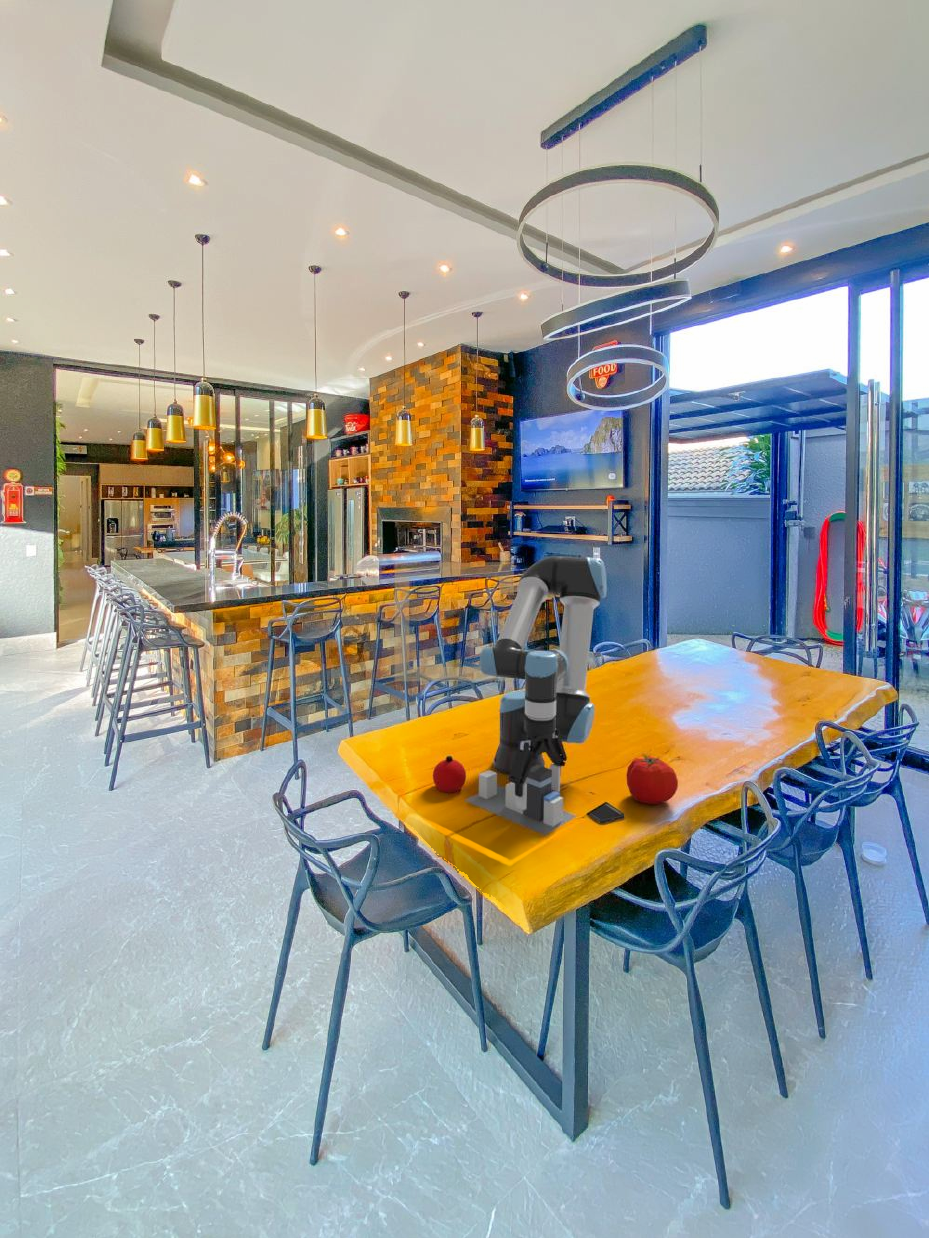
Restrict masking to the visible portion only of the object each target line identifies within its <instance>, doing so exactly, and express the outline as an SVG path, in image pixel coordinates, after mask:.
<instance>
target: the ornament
mask: <svg viewBox="0 0 929 1238" xmlns="http://www.w3.org/2000/svg"><path fill="white" fill-rule="evenodd" d="M466 779H467V772H466V770H465V767H464V766H463V764H462V763H461V762H460V761H458V760H456V759H454V758H453V756H452V755H448V756H446V757H445V759H442V760H440V761H439V762H438V763H437V764H436V766H435V767H434V769H433V772H432V780H433V783H434V785H435V787H436V788H437V789H438V790H439V791H440V792H443V793H448V794H449V793H457V792H458V791H460V790H461V789H462V788H463V786H464V785H465V782H466Z"/></svg>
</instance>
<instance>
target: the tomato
mask: <svg viewBox="0 0 929 1238" xmlns="http://www.w3.org/2000/svg"><path fill="white" fill-rule="evenodd" d="M642 756H643V758H640V757H639V758H638V757H637V758H634V759H632V761H631V762H630V764H628V766H627V770H626V785H627V788H628V790H629V793H630V795H631V796H632V797H633V799H634V800H635V801H637V802H639V803H644V804H650V805H655V804H665V803H666V802H668V801H669V800H670V799H672V798H673V796H675V794H676V792H677V791H678V788H679V787H678V785H679V780H678V777H677V774H676V773H677V772H675V770H674V768H673V767H671V766H670V765H669V764H668V763H666V762H664V761H663V760H662V759H660V758H661V756H659V757H653V756H646V755H645V754H644V753H642Z"/></svg>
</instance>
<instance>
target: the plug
mask: <svg viewBox="0 0 929 1238" xmlns="http://www.w3.org/2000/svg"><path fill="white" fill-rule="evenodd" d="M525 783H527V802H526V809H525V816H527V817H529V818H532V819H534V820H536V821H539V822H540V821H542V820H544V796H546V795H548V794H550V793H552V789H551V785H552V770H551V769H550V768H548V767H546V766H545V767H543V766H540V765H535V766H533V767H531V769H530V771H529V773H528V776H527V778H526V780H525Z"/></svg>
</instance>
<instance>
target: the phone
mask: <svg viewBox="0 0 929 1238" xmlns="http://www.w3.org/2000/svg"><path fill="white" fill-rule="evenodd" d="M588 793H589V794H592V795H595V793H594V792H593V791H592V792H591V791H588ZM586 815H588V816H589V817H590V818H591V819H593V820H594V821H596V823H599V824H608V823H611V822H616V821H620V820H623V819H625V813H624V812H622V810H619V809H618V808H617V807H615V806H613V805H612V804H610V803H609V802H607V801H605V802H602V803H601V804H600V805H598V806H597V807H595V808H593V809H592V810H590V811H588V812H587V813H586Z"/></svg>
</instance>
